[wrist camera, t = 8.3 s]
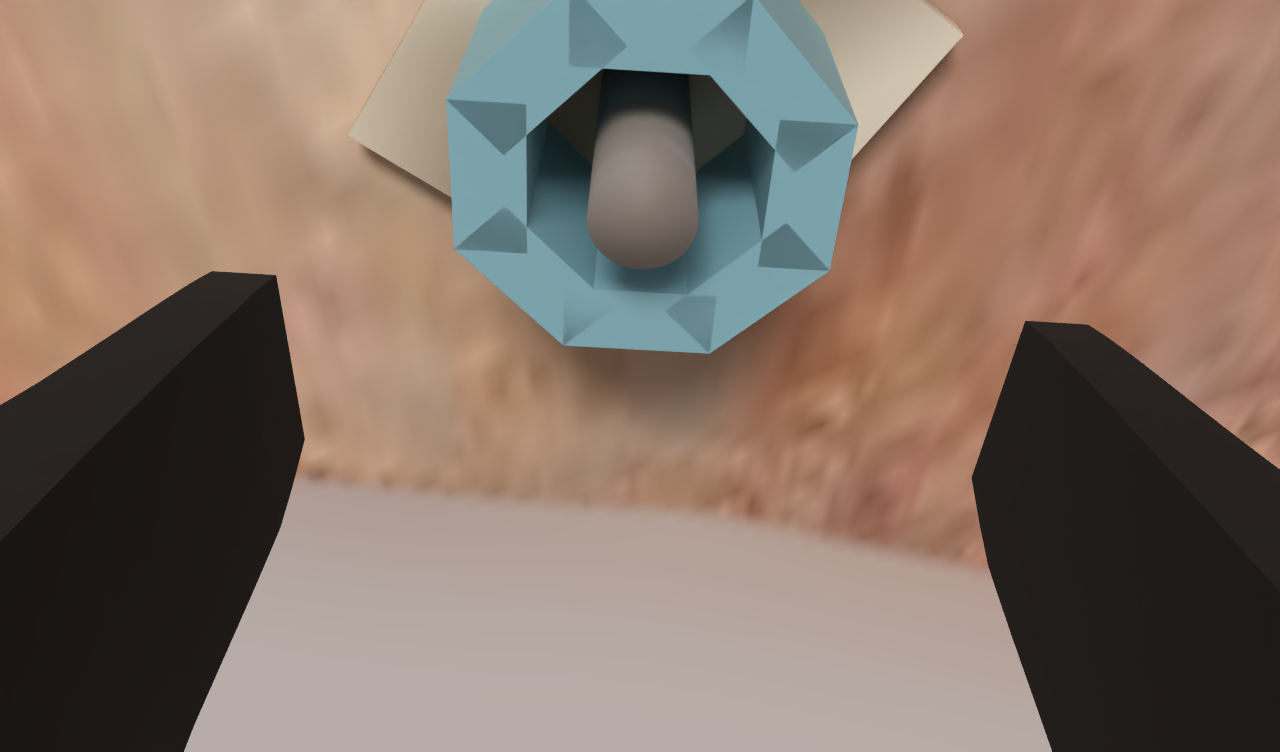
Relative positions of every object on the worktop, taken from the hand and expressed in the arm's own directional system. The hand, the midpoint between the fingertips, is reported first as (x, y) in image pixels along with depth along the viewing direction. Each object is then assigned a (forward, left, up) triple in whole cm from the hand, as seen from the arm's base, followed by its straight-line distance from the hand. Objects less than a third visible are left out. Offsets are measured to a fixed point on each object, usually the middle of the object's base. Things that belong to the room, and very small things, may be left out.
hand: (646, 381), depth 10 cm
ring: (0, 0, -8) cm, 8 cm away
